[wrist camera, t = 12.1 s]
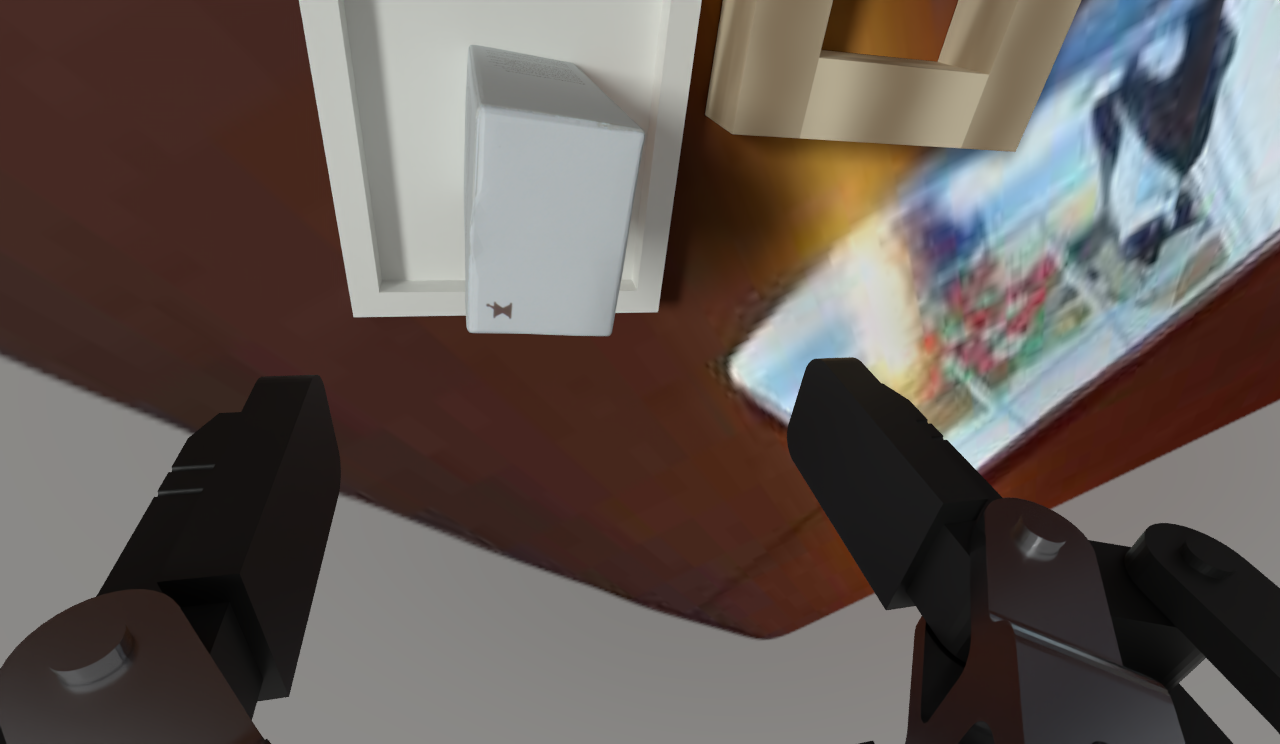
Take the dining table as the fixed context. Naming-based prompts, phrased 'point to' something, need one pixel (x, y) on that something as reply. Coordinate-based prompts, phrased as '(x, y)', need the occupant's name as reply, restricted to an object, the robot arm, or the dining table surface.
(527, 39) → the grey tray
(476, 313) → the skincare box
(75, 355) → the dining table surface
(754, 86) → the frame
